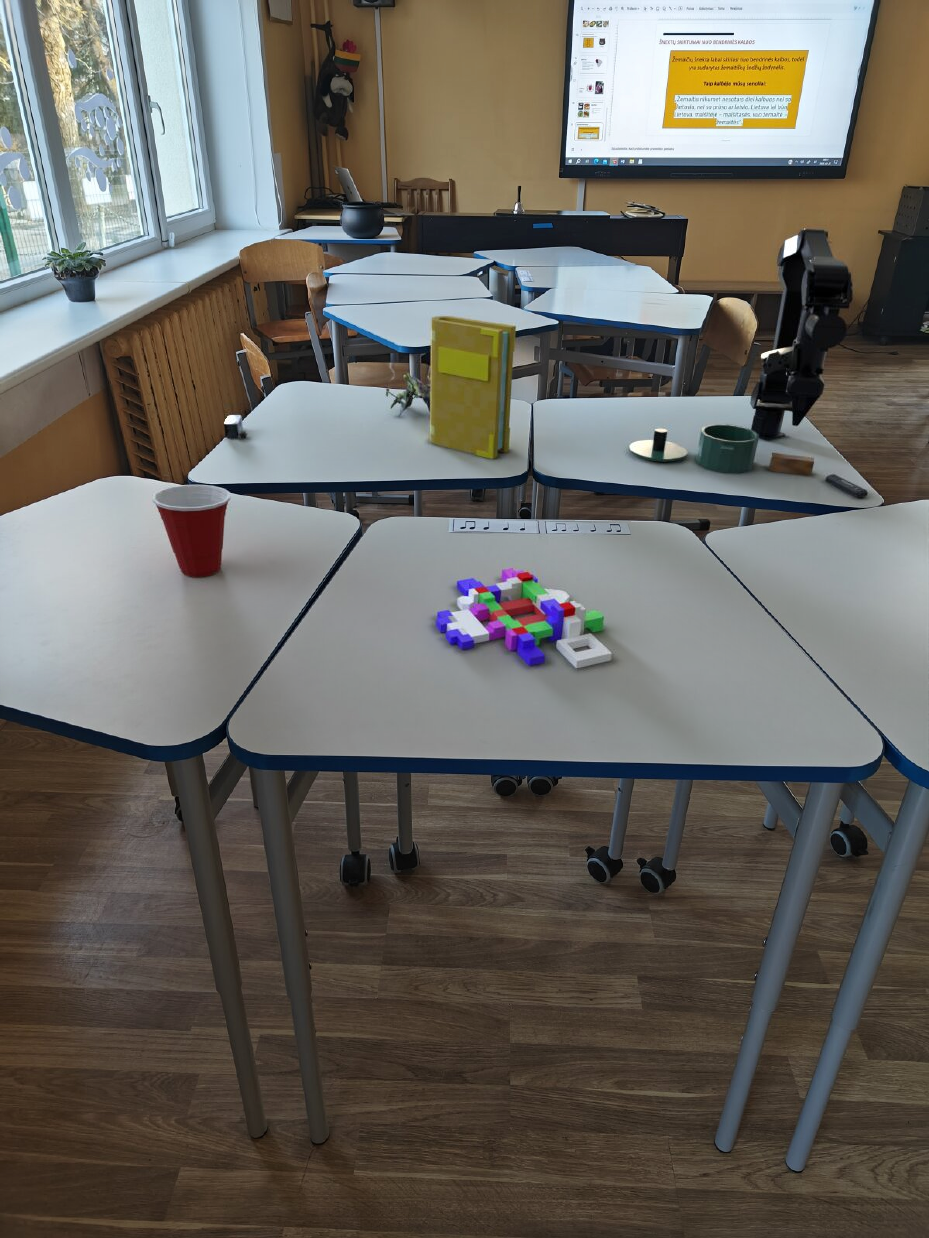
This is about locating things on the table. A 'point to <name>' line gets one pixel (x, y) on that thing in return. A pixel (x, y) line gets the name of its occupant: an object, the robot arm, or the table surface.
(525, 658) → the building block set
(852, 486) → the usb stick
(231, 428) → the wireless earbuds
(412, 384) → the green spindly figure
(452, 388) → the book
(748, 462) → the pot
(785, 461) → the wooden block
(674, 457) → the lid
